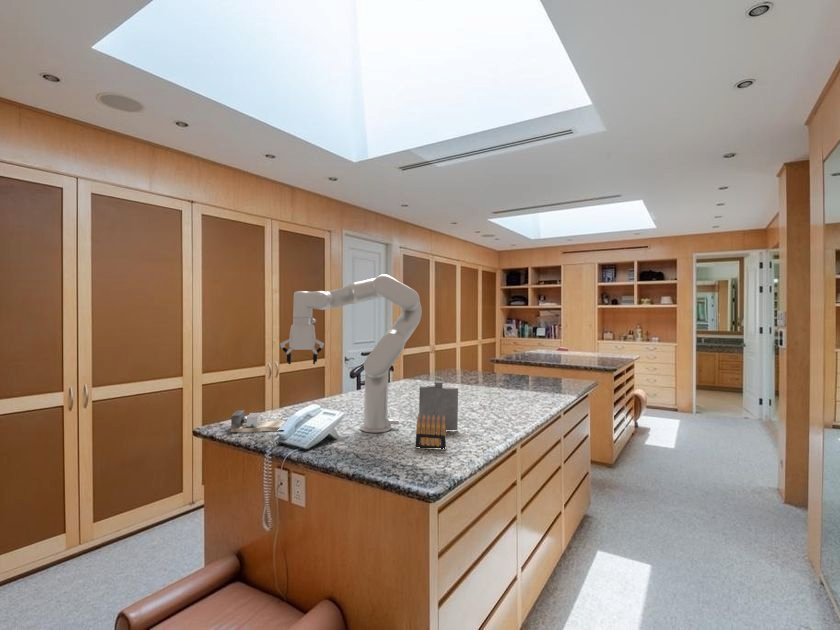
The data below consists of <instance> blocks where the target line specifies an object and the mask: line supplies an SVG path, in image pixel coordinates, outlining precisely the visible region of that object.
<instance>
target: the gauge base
mask: <svg viewBox="0 0 840 630" xmlns="http://www.w3.org/2000/svg"><path fill="white" fill-rule="evenodd" d="M242 417H245V410H236V411H235V412H233V413H232V415H231V416H230V420H231V421H230V433H231V432H237V433H263V432H262V431H271V432H278V431H277V430H278V429H279V428H280V426H281V425H282V424H283V423H284V422H285V421H286V420H284V421H282V420H281V421H260V424H259V425H258V427H252V428H250V427H247V423H241V418H242Z"/></svg>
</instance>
